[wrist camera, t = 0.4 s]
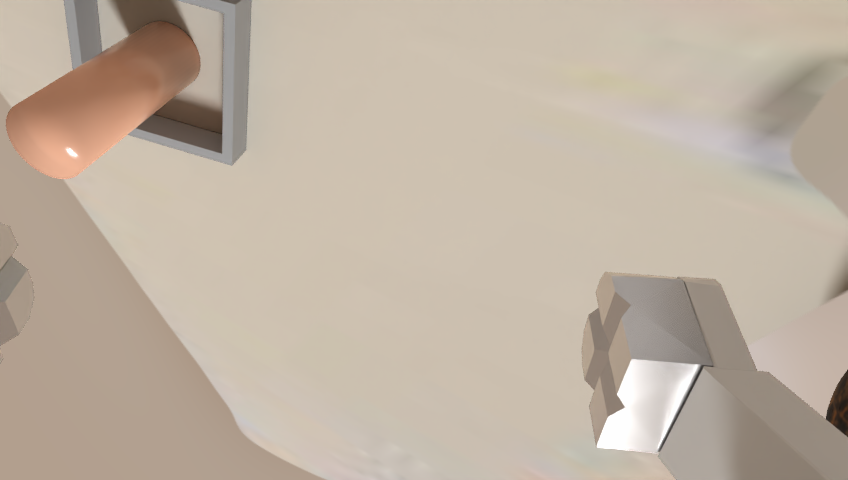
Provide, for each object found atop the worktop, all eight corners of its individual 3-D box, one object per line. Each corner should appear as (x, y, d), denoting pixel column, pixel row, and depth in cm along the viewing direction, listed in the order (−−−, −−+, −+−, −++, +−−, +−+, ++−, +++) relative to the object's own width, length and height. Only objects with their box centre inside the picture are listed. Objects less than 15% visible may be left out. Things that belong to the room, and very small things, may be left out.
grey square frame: (80, -55, 48) (57, -45, 47) (251, -7, 48) (235, 4, 46) (98, 106, 56) (79, 120, 54) (245, 150, 55) (231, 165, 53)
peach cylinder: (135, 13, 51) (-2, 91, 40) (200, 31, 50) (80, 115, 39) (139, 76, 54) (14, 165, 43) (200, 94, 53) (90, 188, 42)
